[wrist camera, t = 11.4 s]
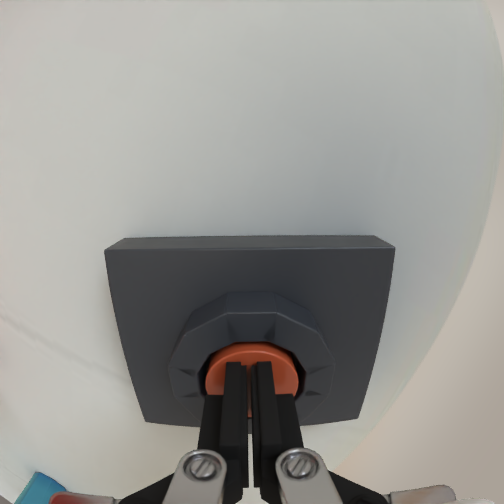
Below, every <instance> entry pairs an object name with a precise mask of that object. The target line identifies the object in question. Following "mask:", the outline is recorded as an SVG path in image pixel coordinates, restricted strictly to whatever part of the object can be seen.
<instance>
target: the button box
mask: <svg viewBox="0 0 504 504" xmlns="http://www.w3.org/2000/svg"><path fill="white" fill-rule="evenodd" d="M104 254H105V261H106V268H107V274H108V280H109V286H110V292H111V297H112V303H113V308H114V312H115V317H116V322H117V326H118V331H119V335H120V339H121V343H122V347H123V351H124V355H125V359H126V362H127V366H128V370H129V373H130V376H131V380H132V383H133V386H134V390H135V393H136V396H137V399H138V402H139V405H140V408H141V411H142V414H143V416H144V419H145V421H146V422H151V423H158V424H167V425H177V426H189V427H201V421H202V415H203V408H204V402H205V397H206V394H208V393H207V391H206V386H205V381H206V374H207V369H208V363H209V358H210V354H211V353H213V352H215V351H217V350H220V349H222V348H224V347H226V346H228V345H230V344H232V343H234V342H266V341H268V342H271V343H273V344H275V345H277V346H279V347H282V348H284V349H286V350H289V351H291V352H292V354H293V358H294V362H295V366H296V371H297V375H298V389H297V392H296V394H295V396H294V401H295V406H296V410H297V415H298V420H299V425H300V426H305V425H315V424H324V423H332V422H339V421H346V420H352V419H357V418H358V417H359V414H360V411H361V407H362V404H363V401H364V398H365V395H366V391H367V388H368V384H369V381H370V377H371V374H372V370H373V366H374V362H375V358H376V354H377V350H378V346H379V342H380V337H381V333H382V328H383V323H384V318H385V313H386V308H387V302H388V296H389V290H390V284H391V277H392V271H393V263H394V255H395V247H394V246H392V245H391V244H389V243H387V242H385V241H383V240H382V239H380V238H378V237H376V236H335V235H305V236H201V237H152V238H124V239H122V240H120V241H119V242H117V243H115V244H114V245H112V246H110V247H109V248H107V249H105V250H104ZM248 434H252V417H248Z"/></svg>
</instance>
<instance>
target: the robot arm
mask: <svg viewBox="0 0 504 504" xmlns="http://www.w3.org/2000/svg"><path fill="white" fill-rule="evenodd" d="M251 401H252V444H253V476H254V488H257V487H260V495H261V499H263V500H264V501H266V502H267V503H269V504H495V503H494V502H492V501H490V500H487V499H483V498H471V499H462V500H456V496H455V493H454V491H453V490H452V489H451V488H450V487H449V486H445V485H436V486H430V487H425V488H419V489H413V490H405V491H397V492H390V494H387V495H381V494H379V493H377V492H375V491H372V490H370V489H368V488H365V487H363V486H361V485H358V484H356V483H354V482H352V481H349V480H347V479H345V478H343V477H341V476H339V475H336V474H335V473H333V472H331V471H329V470H327V468H326V466H325V463H324V461H323V459H322V458H321V456H320V455H319V454H318V453H316V452H315V451H313V450H311V449H308V448H304V446H303V441H302V436H301V431H300V425H299V420H298V415H297V410H296V406H295V401H294V396H293V394H292V393H287V394H275V386H274V378H273V371H272V363H271V361H257V365H251ZM243 488H249V470H248V410H247V366H246V365H241V362H226V370H225V381H224V393H223V395H209V394H206V397H205V402H204V408H203V415H202V421H201V428H200V434H199V441H198V448H197V450H193V451H191V452H188V453H187V454H185V455H184V456H183V457H182V458H181V460H180V461H179V463H178V466H177V468H176V471H175V473H173V474H171V475H169V476H167V477H165V478H163V479H162V480H160V481H158V482H156V483H154V484H152V485H150V486H148V487H146V488H144V489H142V490H140V491H138V492H136V493H134V494H131V495H129V496H127V497H125V498H124V499H114V498H113V497H108V496H96V495H87V494H80V493H73V492H66V491H59V492H56V493H54V494H53V495H52V496H51V497H50V500H49V503H48V504H236V503H237V502H238V501H240V500H241V499H242V495H243Z"/></svg>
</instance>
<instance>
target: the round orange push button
mask: <svg viewBox="0 0 504 504" xmlns="http://www.w3.org/2000/svg"><path fill="white" fill-rule="evenodd" d="M257 361H271V363H272V371H273V378H274V386H275V394H287V393H292V394H293V396H295V394H296V392H297V389H298V375H297V371H296V366H295V362H294V358H293V354H292V352H291V351H289V350H286V349H284V348H282V347H279V346H277V345H275V344H273V343H271V342H268V341H266V342H234V343H232V344H230V345H228V346H226V347H224V348H222V349H220V350H217V351H215V352H213V353H211V354H210V358H209V363H208V369H207V374H206V381H205V386H206V391H207V393H208V394H209V395H223V393H224V381H225V370H226V362H241V365H246V366H247V410H248V417H252V401H251V365H257Z"/></svg>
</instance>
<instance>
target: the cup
mask: <svg viewBox="0 0 504 504" xmlns="http://www.w3.org/2000/svg"><path fill="white" fill-rule="evenodd" d="M59 491H66V489H65V488H64V487H63V486H61V485H60V484H59V483H57V482H56V481H55V480H53V479H52V478H50V477H48V476H46V475H44V474H42V473H35V474H34V475H33V477H32V478H31V480H30V481H29V483H28V484H27V485H26V487H25V488H24V490H23V491H22V493H21V494H20V496H19V497H18V499H17V500H16V502H15V503H14V504H48V503H49V500H50V497H51V496H52V495H53V494H54V493H56V492H59ZM66 492H67V491H66Z"/></svg>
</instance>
